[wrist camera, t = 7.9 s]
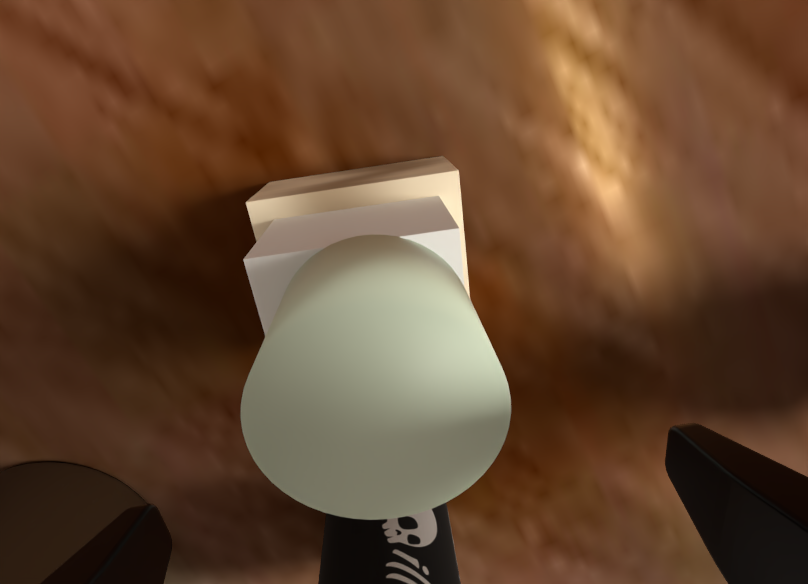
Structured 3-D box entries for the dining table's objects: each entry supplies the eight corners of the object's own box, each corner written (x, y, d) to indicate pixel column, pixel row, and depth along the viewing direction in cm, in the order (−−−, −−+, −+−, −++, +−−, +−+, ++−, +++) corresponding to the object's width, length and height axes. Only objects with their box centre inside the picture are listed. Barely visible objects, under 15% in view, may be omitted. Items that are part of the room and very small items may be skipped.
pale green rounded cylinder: (458, 217, 12) (498, 274, 8) (481, 387, 14) (520, 495, 10) (254, 255, 12) (199, 330, 8) (307, 419, 14) (284, 538, 10)
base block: (442, 155, 19) (458, 170, 15) (457, 309, 22) (474, 354, 18) (270, 180, 19) (245, 202, 15) (308, 331, 22) (295, 381, 18)
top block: (439, 195, 15) (459, 227, 12) (453, 339, 18) (474, 404, 14) (274, 219, 15) (243, 259, 12) (309, 360, 18) (292, 431, 14)
